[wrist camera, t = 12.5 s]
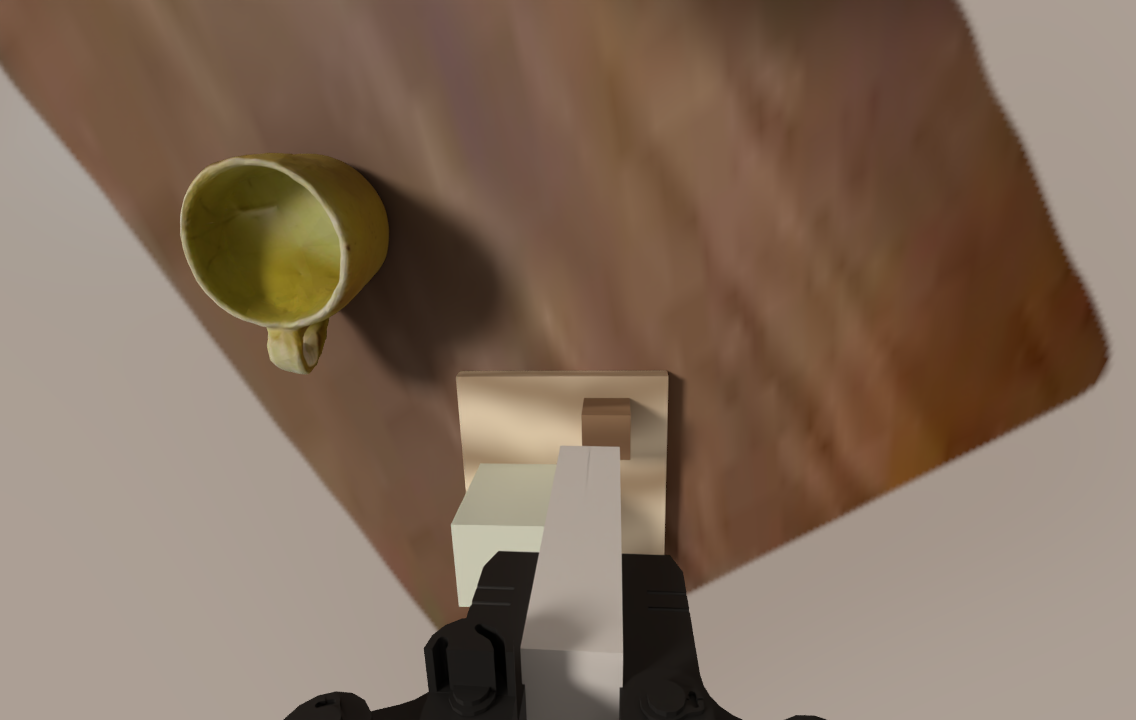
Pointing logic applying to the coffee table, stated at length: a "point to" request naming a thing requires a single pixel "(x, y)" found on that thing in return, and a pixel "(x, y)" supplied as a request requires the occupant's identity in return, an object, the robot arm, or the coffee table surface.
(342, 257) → the mug
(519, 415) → the board
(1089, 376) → the coffee table surface
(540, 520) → the pale green block
